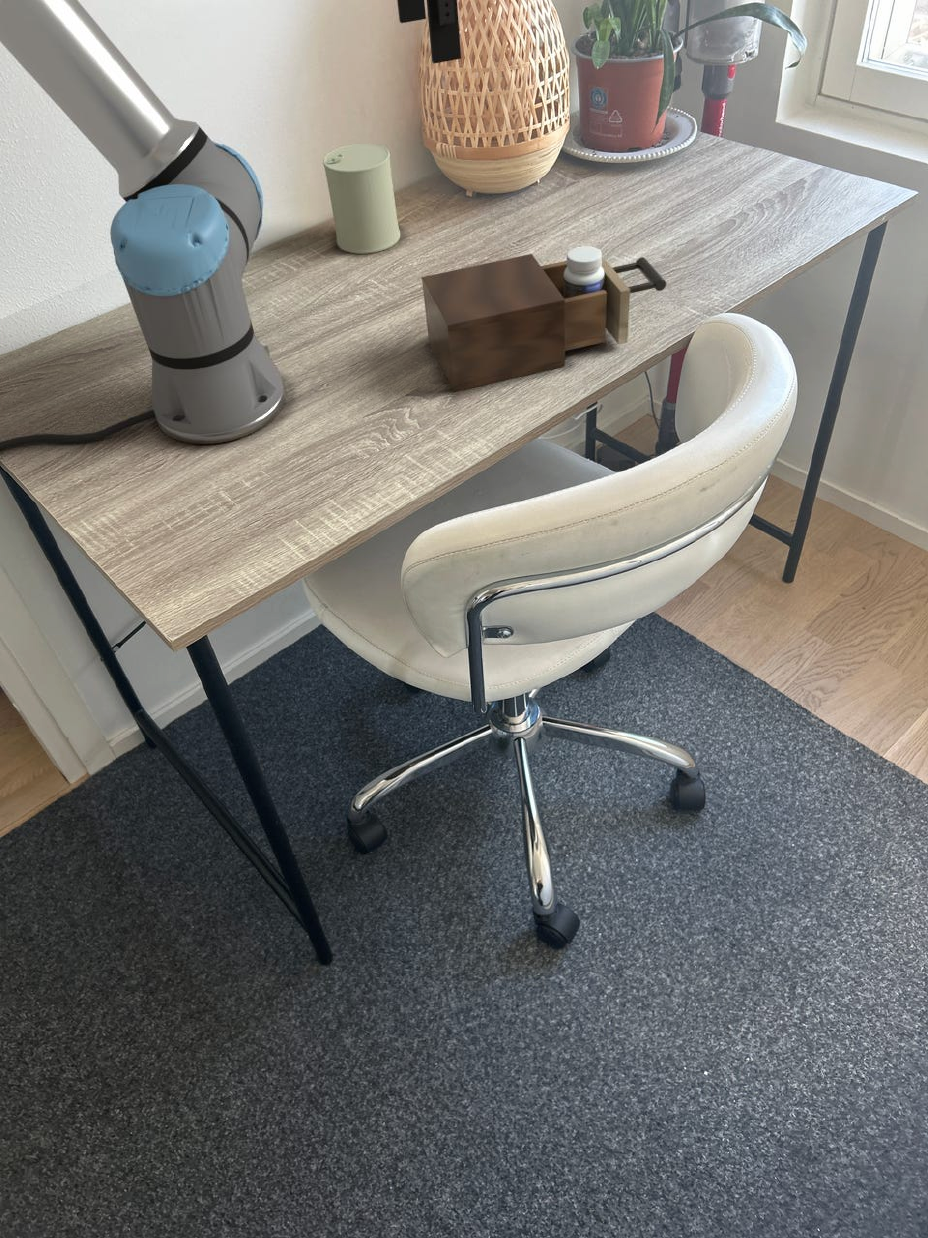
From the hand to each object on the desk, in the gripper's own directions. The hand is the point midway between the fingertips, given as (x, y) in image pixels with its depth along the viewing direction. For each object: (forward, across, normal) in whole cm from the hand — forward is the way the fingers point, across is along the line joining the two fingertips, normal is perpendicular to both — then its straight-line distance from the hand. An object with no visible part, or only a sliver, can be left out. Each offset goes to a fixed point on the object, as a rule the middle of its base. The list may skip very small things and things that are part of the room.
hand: (429, 39), depth 98 cm
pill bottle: (+31, -7, -14) cm, 35 cm away
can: (+33, +29, +5) cm, 44 cm away
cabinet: (+33, -7, -3) cm, 34 cm away
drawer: (+32, -7, -14) cm, 36 cm away
